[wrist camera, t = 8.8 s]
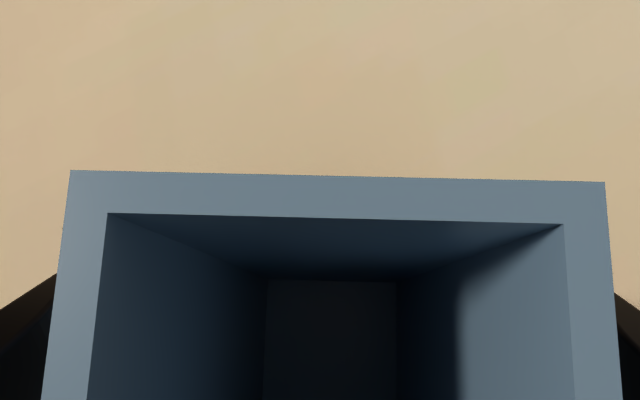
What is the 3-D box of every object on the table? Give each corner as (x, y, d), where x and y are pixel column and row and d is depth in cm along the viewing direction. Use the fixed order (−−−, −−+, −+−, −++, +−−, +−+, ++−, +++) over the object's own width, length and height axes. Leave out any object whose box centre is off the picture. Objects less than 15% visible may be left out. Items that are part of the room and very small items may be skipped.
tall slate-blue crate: (407, 429, 16) (661, 847, 4) (250, 423, 17) (-13, 808, 4) (405, 272, 18) (604, 181, 5) (259, 267, 18) (70, 170, 5)
